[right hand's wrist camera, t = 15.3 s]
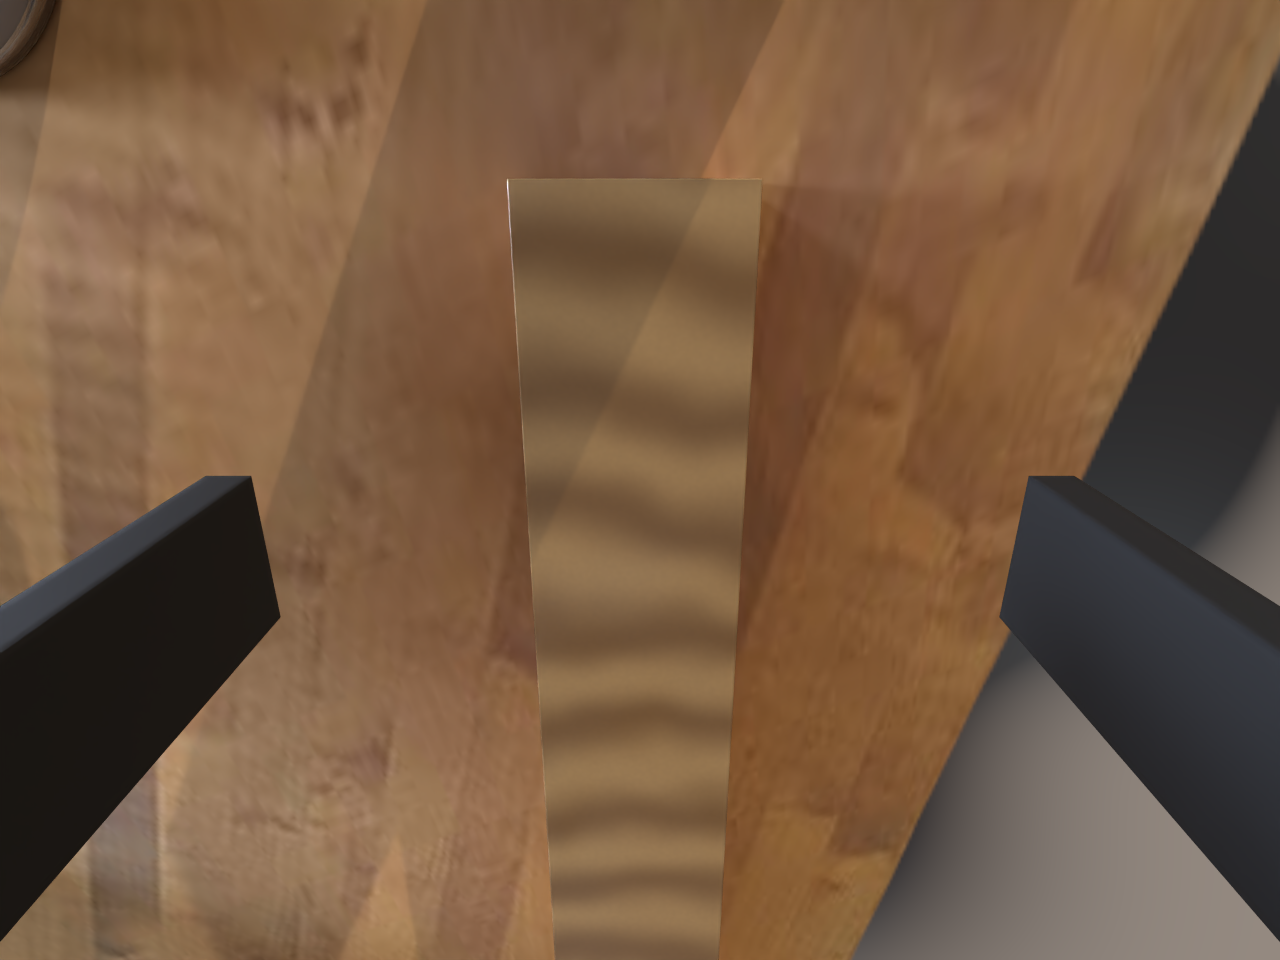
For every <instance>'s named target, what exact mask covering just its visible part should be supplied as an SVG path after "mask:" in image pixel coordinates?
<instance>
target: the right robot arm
mask: <svg viewBox="0 0 1280 960" xmlns="http://www.w3.org/2000/svg"><path fill="white" fill-rule="evenodd" d="M55 1H56V0H0V76H2V75H4V74H5V73H7V72H8V71H9V70H11V69H12V68H13V67H14V66H16V65H17V64H18V63H19V62H20V61H21V60H22V59H23V58H24V57H25V56H26V55H27V54H28V53H29V52H30V50H31V49H32V48H33V46H34V45H35V44H36V42H37V41H38V39H39V38H40V36H41V34H42V32H43V31H44V29H45V27H46V25H47V23H48V20H49V18H50V16H51V13H52V11H53V7H54V4H55ZM279 618H280V612H279V607H278V602H277V598H276V593H275V588H274V583H273V578H272V574H271V569H270V564H269V559H268V554H267V550H266V545H265V540H264V535H263V530H262V526H261V521H260V516H259V511H258V506H257V502H256V497H255V492H254V487H253V482H252V478H251V476H205V477H203V478H202V479H200V480H199V481H197V482H195V483H194V484H192V485H191V486H189V487H188V488H186V489H184V490H183V491H181V492H180V493H178V494H177V495H175V496H173V497H172V498H170V499H169V500H167V501H166V502H164V503H162V504H161V505H159V506H158V507H156V508H154V509H153V510H151V511H150V512H148V513H147V514H145V515H143V516H142V517H140V518H139V519H137V520H136V521H134V522H132V523H131V524H129V525H128V526H126V527H124V528H123V529H121V530H120V531H118V532H117V533H115V534H113V535H112V536H110V537H109V538H107V539H106V540H104V541H102V542H101V543H99V544H98V545H96V546H94V547H93V548H91V549H90V550H88V551H87V552H85V553H83V554H82V555H80V556H79V557H77V558H76V559H74V560H72V561H71V562H69V563H68V564H66V565H64V566H63V567H61V568H60V569H58V570H57V571H55V572H53V573H52V574H50V575H49V576H47V577H46V578H44V579H42V580H41V581H39V582H38V583H36V584H34V585H33V586H31V587H30V588H28V589H27V590H25V591H23V592H22V593H20V594H19V595H17V596H16V597H14V598H12V599H11V600H9V601H8V602H6V603H4V604H3V605H1V606H0V941H1V940H2V939H3V938H4V937H5V936H6V934H7V933H8V932H9V931H10V930H11V929H12V928H13V926H14V925H15V924H16V923H17V922H18V921H19V919H20V918H21V917H22V916H23V915H24V914H25V912H26V911H27V910H28V909H29V908H30V907H31V906H32V904H33V903H34V902H35V901H36V900H37V899H38V897H39V896H40V895H41V894H42V893H43V892H44V890H45V889H46V888H47V887H48V886H49V885H50V884H51V882H52V881H53V880H54V879H55V878H56V877H57V875H58V874H59V873H60V872H61V871H62V870H63V868H64V867H65V866H66V865H67V864H68V863H69V862H70V860H71V859H72V858H73V857H74V856H75V855H76V853H77V852H78V851H79V850H80V849H81V848H82V846H83V845H84V844H85V843H86V842H87V841H88V840H89V838H90V837H91V836H92V835H93V834H94V833H95V831H96V830H97V829H98V828H99V827H100V826H101V824H102V823H103V822H104V821H105V820H106V819H107V818H108V816H109V815H110V814H111V813H112V812H113V811H114V809H115V808H116V807H117V806H118V805H119V804H120V802H121V801H122V800H123V799H124V798H125V797H126V796H127V794H128V793H129V792H130V791H131V790H132V789H133V787H134V786H135V785H136V784H137V783H138V782H139V780H140V779H141V778H142V777H143V776H144V775H145V774H146V772H147V771H148V770H149V769H150V768H151V767H152V765H153V764H154V763H155V762H156V761H157V760H158V758H159V757H160V756H161V755H162V754H163V753H164V752H165V750H166V749H167V748H168V747H169V746H170V745H171V743H172V742H173V741H174V740H175V739H176V738H177V736H178V735H179V734H180V733H181V732H182V731H183V730H184V728H185V727H186V726H187V725H188V724H189V723H190V721H191V720H192V719H193V718H194V717H195V716H196V714H197V713H198V712H199V711H200V710H201V709H202V708H203V706H204V705H205V704H206V703H207V702H208V701H209V699H210V698H211V697H212V696H213V695H214V694H215V692H216V691H217V690H218V689H219V688H220V687H221V685H222V684H223V683H224V682H225V681H226V680H227V679H228V677H229V676H230V675H231V674H232V673H233V672H234V670H235V669H236V668H237V667H238V666H239V665H240V663H241V662H242V661H243V660H244V659H245V658H246V657H247V655H248V654H249V653H250V652H251V651H252V650H253V648H254V647H255V646H256V645H257V644H258V643H259V641H260V640H261V639H262V638H263V637H264V636H265V635H266V633H267V632H268V631H269V630H270V629H271V628H272V626H273V625H274V624H275V623H276V622H277V621H278V619H279ZM1000 618H1001V619H1002V621H1003V622H1004V623H1005V624H1006V625H1007V626H1008V628H1009V629H1010V630H1011V631H1012V632H1013V633H1014V634H1015V636H1016V637H1017V638H1018V639H1019V640H1020V641H1021V643H1022V644H1023V645H1024V646H1025V647H1026V648H1027V650H1028V651H1029V652H1030V653H1031V654H1032V655H1033V657H1034V658H1035V659H1036V660H1037V661H1038V662H1039V664H1040V665H1041V666H1042V667H1043V668H1044V669H1045V670H1046V672H1047V673H1048V674H1049V675H1050V676H1051V677H1052V678H1053V680H1054V681H1055V682H1056V683H1057V684H1058V685H1059V687H1060V688H1061V689H1062V690H1063V691H1064V692H1065V694H1066V695H1067V696H1068V697H1069V698H1070V699H1071V701H1072V702H1073V703H1074V704H1075V705H1076V706H1077V708H1078V709H1079V710H1080V711H1081V712H1082V713H1083V714H1084V716H1085V717H1086V718H1087V719H1088V720H1089V721H1090V723H1091V724H1092V725H1093V726H1094V727H1095V728H1096V730H1097V731H1098V732H1099V733H1100V734H1101V735H1102V736H1103V738H1104V739H1105V740H1106V741H1107V742H1108V743H1109V745H1110V746H1111V747H1112V748H1113V749H1114V750H1115V752H1116V753H1117V754H1118V755H1119V756H1120V757H1121V758H1122V759H1123V761H1124V762H1125V763H1126V764H1127V765H1128V767H1129V768H1130V769H1131V770H1132V771H1133V772H1134V774H1135V775H1136V776H1137V777H1138V778H1139V779H1140V780H1141V782H1142V783H1143V784H1144V785H1145V786H1146V787H1147V789H1148V790H1149V791H1150V792H1151V793H1152V794H1153V796H1154V797H1155V798H1156V799H1157V800H1158V801H1159V802H1160V804H1161V805H1162V806H1163V807H1164V808H1165V809H1166V810H1167V812H1168V813H1169V814H1170V815H1171V816H1172V818H1173V819H1174V820H1175V821H1176V822H1177V823H1178V824H1179V826H1180V827H1181V828H1182V829H1183V830H1184V831H1185V833H1186V834H1187V835H1188V836H1189V837H1190V838H1191V840H1192V841H1193V842H1194V843H1195V844H1196V845H1197V846H1198V848H1199V849H1200V850H1201V851H1202V852H1203V853H1204V854H1205V856H1206V857H1207V858H1208V859H1209V860H1210V862H1211V863H1212V864H1213V865H1214V866H1215V867H1216V868H1217V870H1218V871H1219V872H1220V873H1221V874H1222V875H1223V877H1224V878H1225V879H1226V880H1227V881H1228V882H1229V884H1230V885H1231V886H1232V887H1233V888H1234V889H1235V890H1236V892H1237V893H1238V894H1239V895H1240V896H1241V897H1242V899H1243V900H1244V901H1245V902H1246V903H1247V904H1248V906H1249V907H1250V908H1251V909H1252V910H1253V911H1254V912H1255V914H1256V915H1257V916H1258V917H1259V918H1260V919H1261V920H1262V922H1263V923H1264V924H1265V925H1266V926H1267V928H1268V929H1269V930H1270V931H1271V932H1272V933H1273V934H1274V936H1275V937H1276V938H1277V939H1278V940H1279V941H1280V606H1279V605H1277V604H1275V603H1274V602H1272V601H1271V600H1269V599H1268V598H1266V597H1264V596H1263V595H1261V594H1260V593H1258V592H1257V591H1255V590H1253V589H1252V588H1250V587H1249V586H1247V585H1246V584H1244V583H1242V582H1241V581H1239V580H1238V579H1236V578H1234V577H1233V576H1231V575H1230V574H1228V573H1227V572H1225V571H1223V570H1222V569H1220V568H1219V567H1217V566H1216V565H1214V564H1212V563H1211V562H1209V561H1208V560H1206V559H1204V558H1203V557H1201V556H1200V555H1198V554H1197V553H1195V552H1193V551H1192V550H1190V549H1189V548H1187V547H1186V546H1184V545H1182V544H1181V543H1179V542H1178V541H1176V540H1174V539H1173V538H1171V537H1170V536H1168V535H1167V534H1165V533H1163V532H1162V531H1160V530H1159V529H1157V528H1156V527H1154V526H1152V525H1151V524H1149V523H1148V522H1146V521H1144V520H1143V519H1141V518H1140V517H1138V516H1136V515H1135V514H1133V513H1132V512H1130V511H1129V510H1127V509H1125V508H1124V507H1122V506H1121V505H1119V504H1118V503H1116V502H1114V501H1113V500H1111V499H1110V498H1108V497H1107V496H1105V495H1103V494H1102V493H1100V492H1099V491H1097V490H1096V489H1094V488H1092V487H1091V486H1089V485H1088V484H1086V483H1085V482H1083V481H1081V480H1080V479H1078V478H1077V477H1075V476H1029V478H1028V482H1027V487H1026V492H1025V497H1024V502H1023V506H1022V511H1021V516H1020V521H1019V526H1018V530H1017V535H1016V540H1015V545H1014V550H1013V554H1012V559H1011V564H1010V569H1009V574H1008V578H1007V583H1006V588H1005V593H1004V598H1003V602H1002V607H1001V612H1000Z"/></svg>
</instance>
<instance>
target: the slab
mask: <svg viewBox="0 0 1280 960" xmlns="http://www.w3.org/2000/svg"><path fill="white" fill-rule="evenodd" d="M762 181H763V180H762V179H761V178H693V179H507V191H508V207H509V223H510V239H511V255H512V272H513V288H514V304H515V320H516V336H517V352H518V369H519V385H520V401H521V417H522V433H523V450H524V466H525V482H526V498H527V514H528V530H529V547H530V563H531V579H532V595H533V611H534V628H535V644H536V660H537V676H538V692H539V708H540V725H541V741H542V757H543V773H544V789H545V806H546V822H547V838H548V854H549V870H550V886H551V903H552V919H553V935H554V951H555V960H719V945H720V928H721V910H722V892H723V874H724V857H725V839H726V821H727V803H728V785H729V768H730V750H731V732H732V714H733V697H734V679H735V661H736V643H737V625H738V608H739V590H740V572H741V554H742V537H743V519H744V501H745V483H746V466H747V448H748V430H749V412H750V394H751V377H752V359H753V341H754V323H755V306H756V288H757V270H758V252H759V234H760V217H761V199H762Z"/></svg>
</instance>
